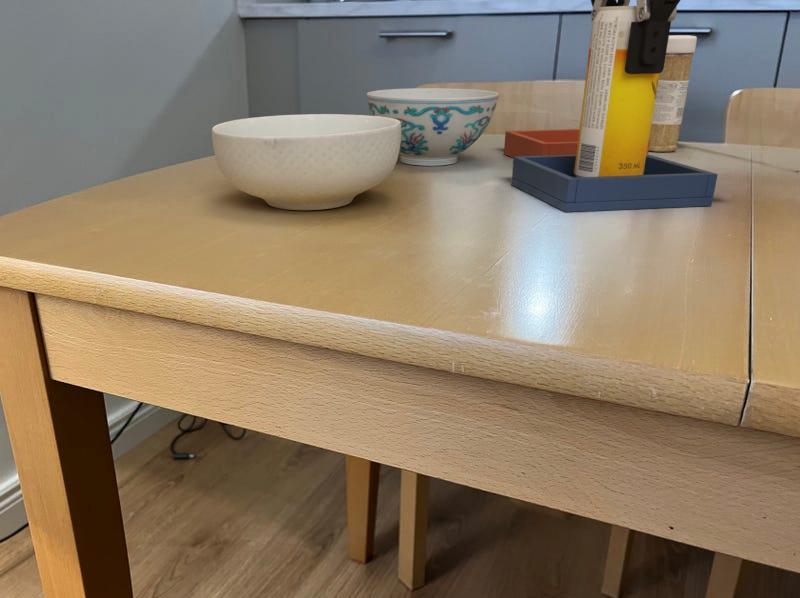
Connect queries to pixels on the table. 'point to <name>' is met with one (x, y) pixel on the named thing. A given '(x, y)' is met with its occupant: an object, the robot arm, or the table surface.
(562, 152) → the terracotta tray
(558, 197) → the blue tray
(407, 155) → the chinaware
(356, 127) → the cereal bowl
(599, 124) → the beer can
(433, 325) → the table surface
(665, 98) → the sprinkles bottle
